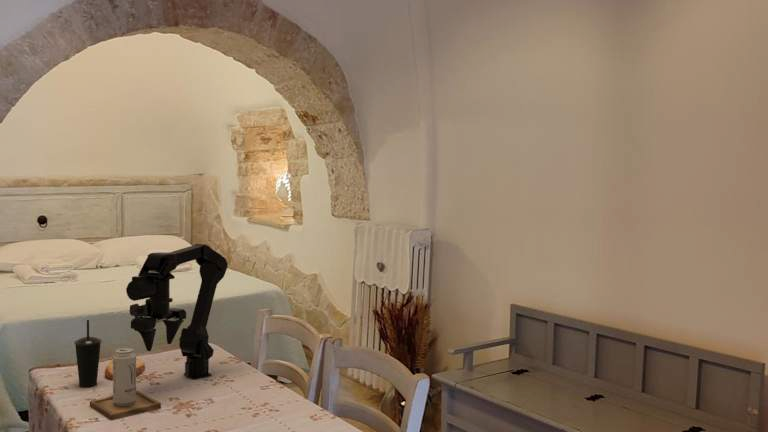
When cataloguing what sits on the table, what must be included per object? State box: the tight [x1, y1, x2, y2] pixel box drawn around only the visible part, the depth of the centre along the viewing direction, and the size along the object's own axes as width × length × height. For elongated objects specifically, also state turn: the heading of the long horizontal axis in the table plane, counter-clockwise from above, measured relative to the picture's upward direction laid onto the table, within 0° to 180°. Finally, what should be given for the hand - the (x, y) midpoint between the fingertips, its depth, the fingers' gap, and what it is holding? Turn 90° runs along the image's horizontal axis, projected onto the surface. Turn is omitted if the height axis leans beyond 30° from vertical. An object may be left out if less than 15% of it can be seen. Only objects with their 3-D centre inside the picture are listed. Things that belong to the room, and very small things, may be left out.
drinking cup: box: [73, 319, 102, 389], centre depth 211 cm, size 8×8×20 cm
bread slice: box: [104, 358, 146, 381], centre depth 228 cm, size 18×18×4 cm
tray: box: [89, 390, 162, 421], centre depth 193 cm, size 14×14×2 cm
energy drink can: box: [112, 347, 137, 406], centre depth 193 cm, size 6×6×15 cm
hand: (159, 347), depth 208 cm, fingers open, 9 cm apart
